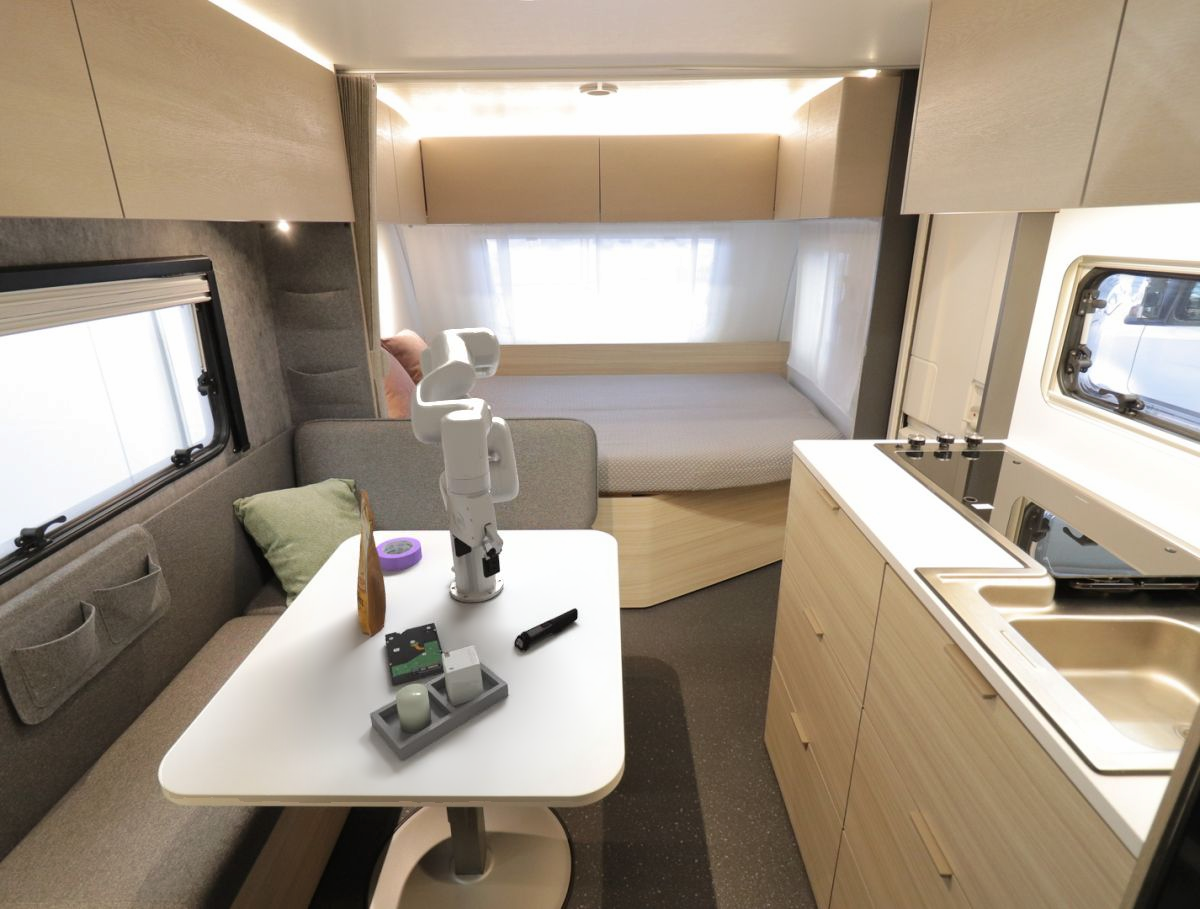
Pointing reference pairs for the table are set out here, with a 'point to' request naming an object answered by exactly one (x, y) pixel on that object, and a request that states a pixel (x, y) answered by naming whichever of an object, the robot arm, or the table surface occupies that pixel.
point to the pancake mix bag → (370, 576)
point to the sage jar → (413, 708)
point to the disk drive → (414, 654)
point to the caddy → (436, 714)
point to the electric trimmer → (545, 629)
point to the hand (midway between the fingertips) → (477, 564)
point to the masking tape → (401, 560)
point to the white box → (462, 675)
